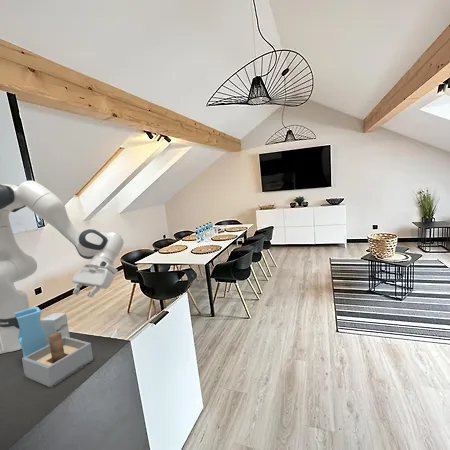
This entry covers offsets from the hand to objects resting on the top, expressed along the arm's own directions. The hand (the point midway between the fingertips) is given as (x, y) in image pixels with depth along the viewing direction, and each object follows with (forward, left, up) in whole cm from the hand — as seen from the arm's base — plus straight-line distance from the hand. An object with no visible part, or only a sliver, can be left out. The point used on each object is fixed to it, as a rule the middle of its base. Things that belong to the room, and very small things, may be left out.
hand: (82, 295), depth 113 cm
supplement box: (-18, -3, -23) cm, 29 cm away
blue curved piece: (-14, -14, -23) cm, 30 cm away
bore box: (+2, -14, -23) cm, 27 cm away
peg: (+2, -14, -22) cm, 26 cm away
